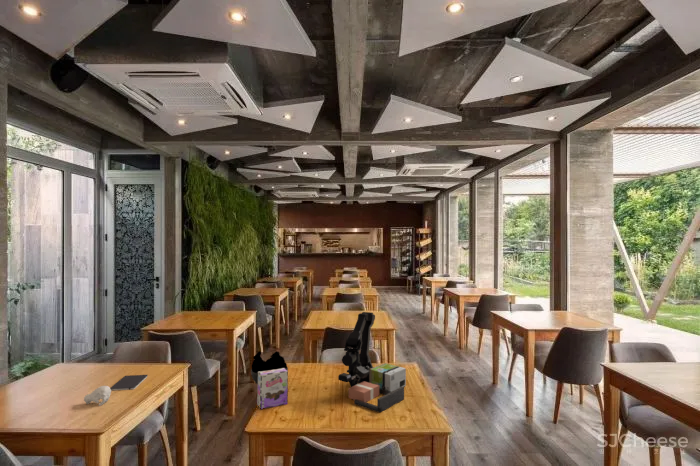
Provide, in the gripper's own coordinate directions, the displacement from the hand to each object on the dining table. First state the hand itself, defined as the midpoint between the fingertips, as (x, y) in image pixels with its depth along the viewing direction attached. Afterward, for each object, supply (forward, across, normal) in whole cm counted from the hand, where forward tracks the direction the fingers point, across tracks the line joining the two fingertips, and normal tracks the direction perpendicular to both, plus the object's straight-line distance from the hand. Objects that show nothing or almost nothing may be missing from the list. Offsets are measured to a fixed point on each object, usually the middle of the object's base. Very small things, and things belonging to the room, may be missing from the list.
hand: (353, 390), depth 208 cm
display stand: (+2, 0, -16) cm, 16 cm away
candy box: (+2, -37, +21) cm, 43 cm away
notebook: (+3, -71, +105) cm, 127 cm away
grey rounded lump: (+2, -93, +87) cm, 127 cm away
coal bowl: (+2, -23, +41) cm, 47 cm away
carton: (+2, 0, -7) cm, 7 cm away
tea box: (-4, +20, -15) cm, 25 cm away
